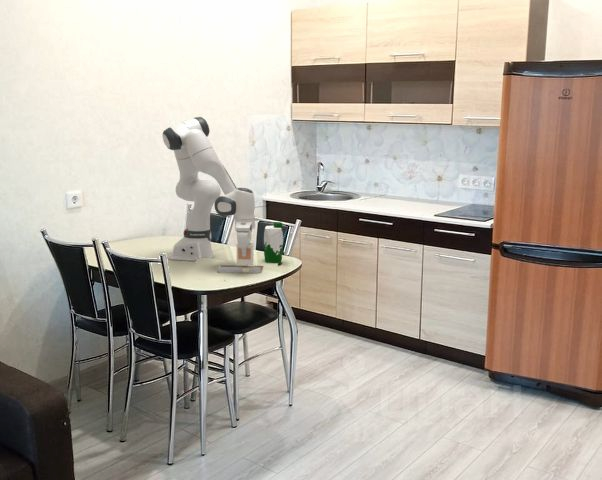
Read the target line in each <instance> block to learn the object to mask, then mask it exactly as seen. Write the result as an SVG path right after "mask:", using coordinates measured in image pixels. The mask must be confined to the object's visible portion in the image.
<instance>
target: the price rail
mask: <svg viewBox="0 0 602 480" xmlns="http://www.w3.org/2000/svg"><path fill="white" fill-rule="evenodd" d="M217 271H218V273H217V274H261V273H260V267H220V266H217Z"/></svg>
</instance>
